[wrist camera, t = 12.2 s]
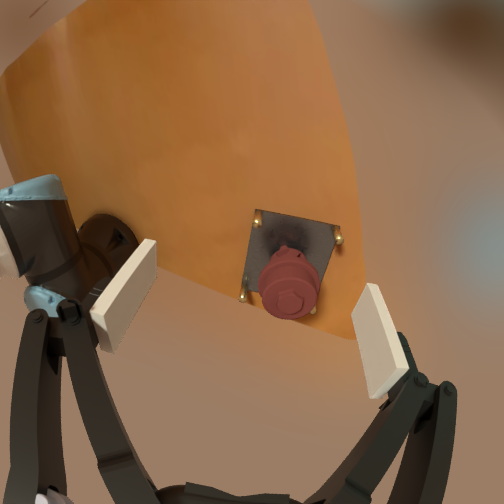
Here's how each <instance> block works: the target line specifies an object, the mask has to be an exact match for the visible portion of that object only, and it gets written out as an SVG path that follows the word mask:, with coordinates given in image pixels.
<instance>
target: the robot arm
mask: <svg viewBox="0 0 504 504" xmlns="http://www.w3.org/2000/svg"><path fill="white" fill-rule="evenodd" d="M67 200H68V198H67V196H66V195H65V192H64V189H63V186H62V183H61V180H60V178H59V177H58V176H57V175H54V174H49V175H44V176H40V177H37V178H33V179H30V180H27V181H24V182H20V183H17V184H14V185H12V186H9V187H6V188H4V189H1V190H0V279H2V278H3V277H10V278H14V279H18V278H20V277H21V276H22V275H25V277H26V279H27V281H28V283H29V286H28V287H27V288H26V289H25V292H24V302H25V304H26V306H27V308H28V309H29V311H30V313H29V314H28V315H27V317H26V321H25V325H24V329H23V333H22V337H21V342H20V347H19V352H18V357H17V363H16V369H15V376H14V383H13V391H12V402H11V416H10V463H11V467H10V471H9V475H8V480H7V484H6V489H5V494H4V499H3V504H74V503H73V502H72V501H71V500H70V499H69V498H68V497H67V484H66V474H65V466H64V458H63V448H62V436H61V408H60V407H61V406H60V404H61V403H60V402H61V396H60V395H61V394H60V393H61V368H62V356H64V357H67V363H68V368H69V372H70V377H71V381H72V385H73V389H74V392H75V396H76V399H77V403H78V406H79V410H80V413H81V416H82V419H83V423H84V426H85V428H86V431H87V434H88V437H89V440H90V442H91V445H92V447H93V450H94V452H95V455H96V458H97V460H98V464H97V465H98V469H99V471H100V474H101V476H102V478H103V480H104V483H105V485H106V487H107V489H108V491H109V493H110V494H111V497H112V498H113V500H114V502H115V504H370V503H371V501H372V498H371V494H372V492H373V491H374V490H375V488H376V487H377V485H378V484H379V482H380V481H381V479H382V477H383V476H384V475H385V473H386V471H387V470H388V468H389V467H390V465H391V463H392V462H393V460H394V458H395V457H396V455H397V453H398V451H399V450H400V448H401V446H402V444H403V442H404V440H405V439H406V437H407V435H408V433H409V435H408V439H407V443H406V447H405V451H404V454H403V458H402V461H401V465H400V468H399V471H398V474H397V477H396V480H395V483H394V486H393V489H392V492H391V495H390V497H389V500H388V503H387V504H442V501H443V497H444V493H445V489H446V485H447V480H448V475H449V470H450V464H451V458H452V451H453V444H454V436H455V425H456V411H457V390H456V388H455V386H454V385H453V384H452V383H451V382H449V381H443V382H442V383H441V384H440V385H439V386H438V385H434V384H431V383H429V380H428V378H427V377H426V376H425V375H424V374H423V373H421V372H418V370H417V367H416V364H415V361H414V358H413V356H412V353H411V350H410V347H409V345H408V342H407V340H406V338H405V336H404V335H403V334H402V333H401V332H396V329H395V327H394V324H393V322H392V319H391V317H390V314H389V312H388V309H387V307H386V304H385V302H384V299H383V297H382V295H381V292H380V290H379V287H378V285H375V284H371V283H367V284H366V286H365V288H364V290H363V292H362V294H361V296H360V298H359V300H358V302H357V304H356V306H355V308H354V310H353V312H352V314H351V317H352V321H353V325H354V329H355V333H356V337H357V341H358V345H359V349H360V354H361V358H362V363H363V368H364V373H365V377H366V382H367V387H368V393H369V398H371V399H377V398H379V399H380V398H382V397H383V396H384V395H385V394H386V393H388V397H389V398H388V399H387V400H386V401H385V402H384V403H383V404H382V405H381V406H380V407H379V409H380V411H379V413H378V414H377V416H376V417H375V419H374V420H373V422H372V423H371V425H370V426H369V428H368V429H367V430H366V432H365V433H364V435H363V436H362V437H361V439H360V440H359V442H358V443H357V444H356V446H355V447H354V448H353V450H352V451H351V452H350V454H349V455H348V456H347V457H346V459H345V460H344V461H343V462H342V464H341V465H340V466H339V467H338V469H337V470H336V471H335V472H334V473H333V475H332V476H331V477H330V478H329V479H328V480H327V481H326V482H325V483H324V485H323V486H322V487H321V488H320V489H319V490H318V491H317V492H316V493H314V494H313V495H312V496H311V497H309V498H308V499H307V500H306V501H305V502H304V503H300V502H298V501H296V500H294V499H290V498H289V496H290V495H288V494H266V493H265V494H258V495H250V496H241V497H238V496H234V495H231V494H229V493H226V492H223V491H220V490H218V489H215V488H213V487H209V486H203V485H198V484H194V483H189V482H186V485H174V486H169V487H165V488H162V489H160V490H157V488H156V486H155V485H154V483H153V481H152V480H151V478H150V477H149V475H148V473H147V471H146V470H145V468H144V466H143V465H142V463H141V461H140V459H139V457H138V455H137V453H136V451H135V449H134V447H133V445H132V443H131V441H130V439H129V437H128V434H127V432H126V430H125V428H124V426H123V423H122V421H121V419H120V416H119V414H118V412H117V409H116V407H115V404H114V401H113V399H112V396H111V394H110V391H109V388H108V385H107V383H106V380H105V377H104V374H103V371H102V368H101V365H100V362H99V358H98V355H97V351H96V349H95V348H96V347H97V345H98V343H99V345H100V348H101V350H104V351H106V352H109V353H112V354H114V353H115V351H116V349H117V347H118V345H119V344H120V342H121V340H122V338H123V336H124V334H125V332H126V330H127V329H128V327H129V325H130V323H131V322H132V320H133V318H134V316H135V314H136V312H137V311H138V309H139V307H140V305H141V304H142V302H143V300H144V299H145V297H146V295H147V293H148V291H149V290H150V288H151V287H152V285H153V283H154V282H155V280H156V278H157V241H154V240H149V239H144V241H143V242H142V243H141V244H140V245H138V242H137V240H136V238H135V236H134V234H133V233H132V231H131V230H130V229H129V228H128V227H127V226H126V225H125V224H124V223H123V222H122V221H121V220H119V219H117V218H116V217H113V216H111V215H107V214H97V215H94V216H92V217H90V218H89V219H88V220H87V221H85V222H84V223H83V224H82V226H81V227H80V229H79V231H78V233H77V230H76V227H75V224H74V221H73V218H72V215H71V211H70V208H69V204H68V201H67Z"/></svg>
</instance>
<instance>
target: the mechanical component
mask: <svg viewBox="0 0 504 504" xmlns="http://www.w3.org/2000/svg"><path fill="white" fill-rule="evenodd" d="M319 290H320V279H319V275H318V272H317V270H316V268H315V267H314V266H313V265H312V264H311V263H310V262H308V261H307V259H306V257H305V255H304V254H303V253H302V252H300V251H298V250H296V249H292V248H288V247H287V246H285V245H283V246H281V247H280V250H279V251H277V252H275V253H274V254H273V255H272V256H271V258H270V260H269V263H268V264H267V265H266V266H265V267H264V268H263V269H262V271H261V273H260V275H259V279H258V291H259V294H260V296H261V297H262V303H263V306H264V308H265V309H266V311H267V312H268V313H270V314H271V315H273V316H275V317H277V318H281V319H297V318H300V317H303V316H305V315H307V314H308V313H309V312H311V311H312V309H313V308H314V307H315V305H316V302H317V295H318V293H319Z"/></svg>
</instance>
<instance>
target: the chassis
mask: <svg viewBox="0 0 504 504" xmlns="http://www.w3.org/2000/svg"><path fill="white" fill-rule="evenodd" d="M339 229H340V226H337V225H333V224H328V223H323V222H319V221H314V220H309V219H305V218H300V217H295V216H290V215H285V214H280V213H275V212H269V211H264V210H259V209H255V214H254V219H253V225H252V230H251V236H250V241H249V246H248V252H247V257H246V263H245V268H244V274H243V279H242V285H241V290H240V295H239V301H240V302H242V303H244V302H246V299H247V292H248V290H250V291H255V292H259V291H258V279H259V275H260V273H261V271H262V269H263V268H264V267H265V266H266V265H267V264H268V263H269V260H270V258H271V256H272V255H273V254H274V253H275V252H277V251H279V250H280V247H281V246H283V245H285V246H287V247H288V248H292V249H296V250H298V251H300V252H302V253H303V254H304V255H305V257H306V259H307V261H308V262H310V263H311V264H312V265H313V266H314V267H315V268H316V270H317V272H318V275H319V279H320V283H321V281H322V278H323V275H324V273H325V270H326V267H327V264H328V261H329V259H330V256H331V253H332V250H333V247H334V244H335V242H336V244H338V245H340V244H342V243H343V242H344V239H343V237H342V234H341V232H340V230H339ZM316 312H317V311H316V305H315V307H314V308H313V309H312V311H311V312H309V313H310V314H315V313H316Z"/></svg>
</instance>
